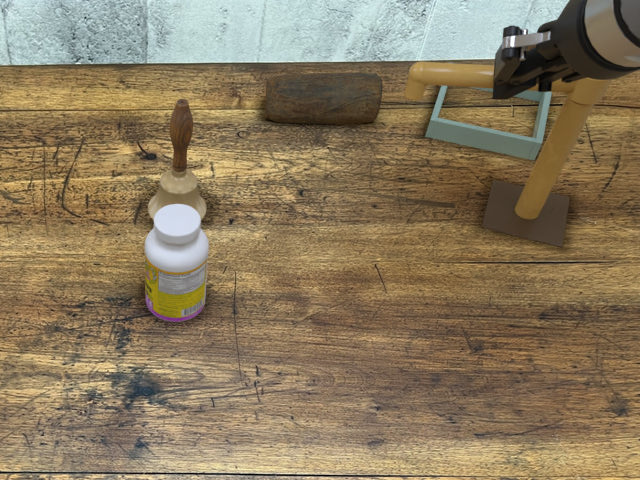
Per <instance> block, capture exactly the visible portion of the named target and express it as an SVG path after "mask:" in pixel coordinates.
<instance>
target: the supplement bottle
mask: <svg viewBox="0 0 640 480" xmlns="http://www.w3.org/2000/svg"><path fill="white" fill-rule="evenodd" d="M209 251H210V242H209V239H208V236H207V234H206V233H205V231H204V230H203V229H202V219H201V218H200V215H199V213H198V212H197V211H196V210H195V209H194V208H192V207H190V206H188V205H184V204H171V205H167V206H165V207H163V208H161V209H160V210H159V211H158V212H157V213H156V214H155V217H154V220H153V228H152V229H151V230H150V231H149V233H148V234H147V236H146V238H145V241H144V287H145V288H144V291H145V292H144V293H145V294H144V295H145V304H146V306H147V309H148V310H149V311H150V312H151V313H152V315H154V316H155V317H156V318H158V319H161V320H164V321H167V322H174V323H177V322H178V323H179V322H185V321H189V320H190V319H193V318H195V317H196V316H197V315H199V314H200V313H201V312H202V311H203V309H204V307H205V304H206V297H207V296H206V295H207V294H206V293H207V282H208V281H207V279H208V266H209V265H208V264H209Z"/></svg>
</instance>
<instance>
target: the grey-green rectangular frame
mask: <svg viewBox="0 0 640 480" xmlns="http://www.w3.org/2000/svg"><path fill="white" fill-rule="evenodd" d="M448 63H452V61H449V62H448ZM448 87H449V86H440V88H439V92H438V95H437V98H436V101H435V104H434V107H433V110H432V114H431V116H430V120H429V123H428V126H427V129H426V131H425V135H424V138H429V139H433V140H439V141H443V142H448V143H453V144H457V145H461V146H465V147H471V148H475V149H479V150H484V151H489V152H494V153H498V154H502V155H507V156H512V157H514V158H515V157H516V158H521V159H525V160H530V161H536V158H537V156H538V154H539V153H540V151H541V150H540V149H541V148H542V145H543V141H544V136H545V132H546V127H547V126H546V125H547V121H548V116H549V109H550V104H551V100H552V94H553V92H538V91H528V90H526V91H524V92H522V93H520V94H517V95H515V96H513V98H519V99H523V100H528V101H529V100H530V101H534V102H538V107H537V112H536V117H535V120H534V121H535V122H534V127H533V130H532V136H527V135H522V134H517V133H513V132H507V131H503V130H499V129H493V128H488V127H484V126H480V125H475V124H470V123H466V122H462V121H455V120H451V119H446V118H443V117H439V115H440V113H441V110H442V106H443V102H444V99H445V96H446V93H447V91H448ZM468 88H469V89H474V90H479V91H484V92H489V93H493V88H475V87H468Z"/></svg>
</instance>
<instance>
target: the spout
mask: <svg viewBox="0 0 640 480" xmlns="http://www.w3.org/2000/svg"><path fill="white" fill-rule="evenodd" d="M493 78H494V65H493V64H492V65H491V64H476V63H475V64H473V63H456V62H451V63H449V62H436V61H417V62H415V63H413V64H412V65H411V66H410V68H409V70H408V77H407V81H406V84H405V87H404V91H403V95H404V97H405V98H406V99H408V100H410V101H419V100H421V99H423V98H424V95H425V91H426V88H427V86H439V87H441V86H448V87H457V88H459V87H460V88H461V87H462V88H469V87H475V88H493V83H494V82H493ZM561 80H562V78H561V79H559V80H556V81H554V82H552V90H551V91H549V92H552V93H565V95H566V97H568V98H569V99H571V100H572V101H574V102H577V103H580V104H585V105H592V104H594V105H596V104H599V103H600V102H601V101H602V100H603V97H604V96H605V94H606V92H607V90H608V88H609V86H610V84H611V83H612V80H613V79H610V80H597V79H592V78H588V77H587V78H584V79H580V80H577V81H573V82H571V83H565V82H561ZM528 91H538V84H536V86H534V87H532V88H530V89H528Z"/></svg>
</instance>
